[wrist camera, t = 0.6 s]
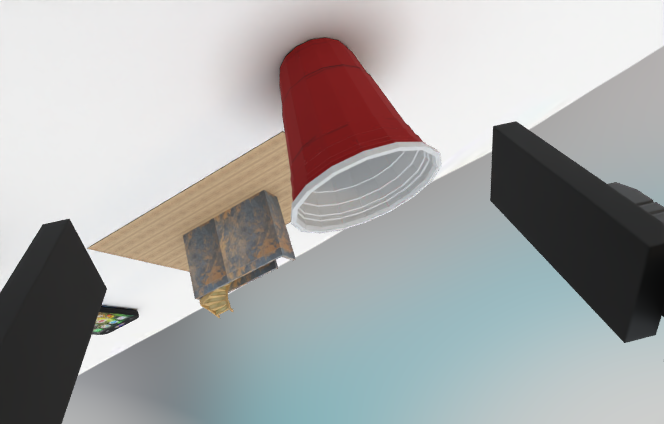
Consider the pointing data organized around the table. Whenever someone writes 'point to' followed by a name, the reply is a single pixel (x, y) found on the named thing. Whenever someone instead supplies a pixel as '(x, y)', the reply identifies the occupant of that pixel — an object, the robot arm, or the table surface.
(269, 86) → the table surface
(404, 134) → the plastic cup
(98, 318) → the smartphone
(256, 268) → the architectural model on board
